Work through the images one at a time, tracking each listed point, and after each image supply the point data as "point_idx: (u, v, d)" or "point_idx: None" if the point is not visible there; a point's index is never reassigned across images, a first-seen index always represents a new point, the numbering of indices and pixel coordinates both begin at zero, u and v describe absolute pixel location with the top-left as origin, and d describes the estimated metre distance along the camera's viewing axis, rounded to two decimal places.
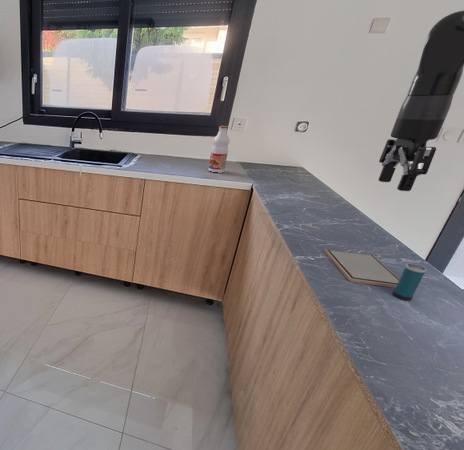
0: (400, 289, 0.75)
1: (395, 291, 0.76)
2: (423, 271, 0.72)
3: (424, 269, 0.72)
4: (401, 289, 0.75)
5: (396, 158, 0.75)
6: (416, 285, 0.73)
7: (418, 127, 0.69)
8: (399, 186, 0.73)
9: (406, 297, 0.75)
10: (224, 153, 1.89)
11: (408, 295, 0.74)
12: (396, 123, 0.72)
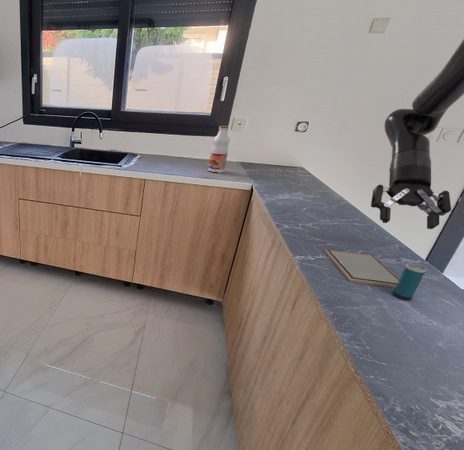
0: (400, 289, 0.75)
1: (395, 291, 0.76)
2: (423, 271, 0.72)
3: (424, 269, 0.72)
4: (401, 289, 0.75)
5: None
6: (416, 285, 0.73)
7: None
8: None
9: (406, 297, 0.75)
10: (224, 153, 1.89)
11: (408, 295, 0.74)
12: None
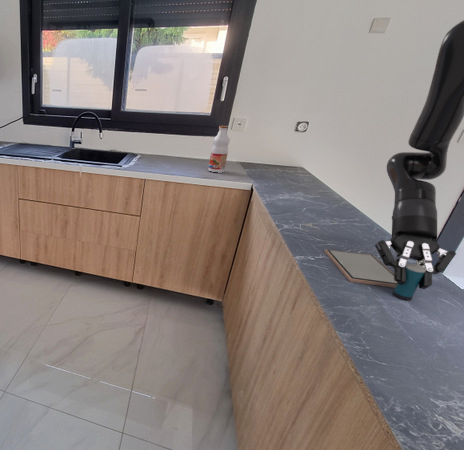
0: (400, 289, 0.75)
1: (395, 291, 0.77)
2: (423, 271, 0.72)
3: (424, 269, 0.72)
4: (401, 289, 0.75)
5: None
6: (416, 285, 0.73)
7: (392, 227, 0.80)
8: None
9: (406, 297, 0.75)
10: (224, 153, 1.89)
11: (408, 295, 0.74)
12: None
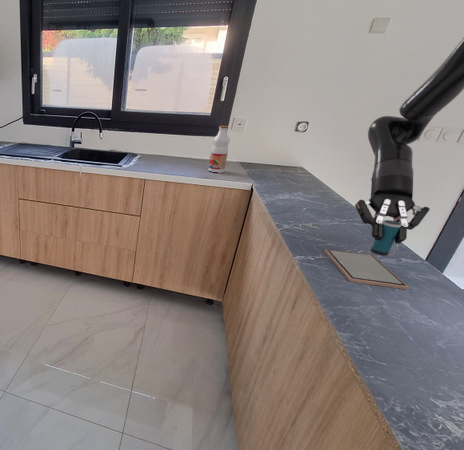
0: (378, 244, 0.79)
1: (373, 247, 0.80)
2: (398, 226, 0.75)
3: (399, 224, 0.76)
4: (378, 244, 0.79)
5: None
6: (392, 240, 0.77)
7: (371, 188, 0.84)
8: None
9: (382, 252, 0.78)
10: (224, 153, 1.89)
11: (384, 250, 0.78)
12: None
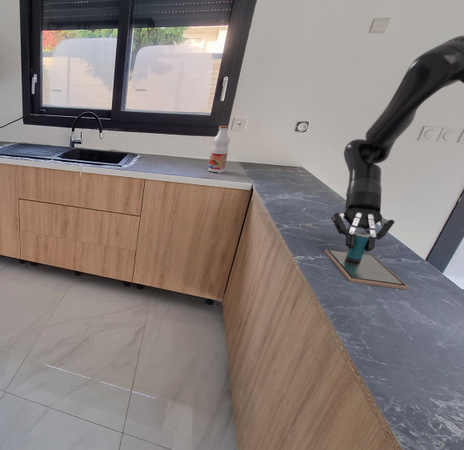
0: (351, 252, 0.90)
1: (347, 255, 0.91)
2: (368, 236, 0.87)
3: (368, 234, 0.87)
4: (351, 252, 0.90)
5: None
6: (363, 248, 0.88)
7: (346, 202, 0.95)
8: None
9: (356, 259, 0.89)
10: (224, 153, 1.89)
11: (357, 257, 0.89)
12: None
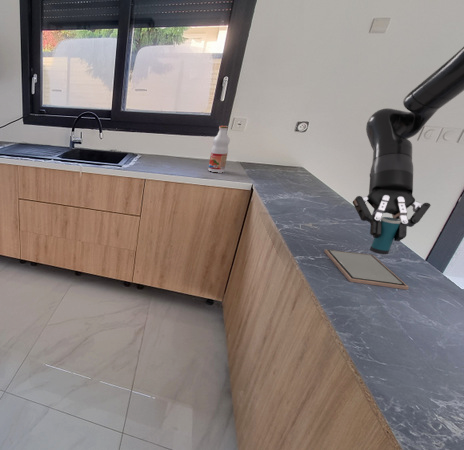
0: (377, 242, 0.75)
1: (372, 246, 0.76)
2: (398, 222, 0.72)
3: (399, 220, 0.72)
4: (377, 242, 0.75)
5: None
6: (392, 237, 0.73)
7: None
8: None
9: (382, 251, 0.75)
10: (224, 153, 1.89)
11: (384, 248, 0.74)
12: None
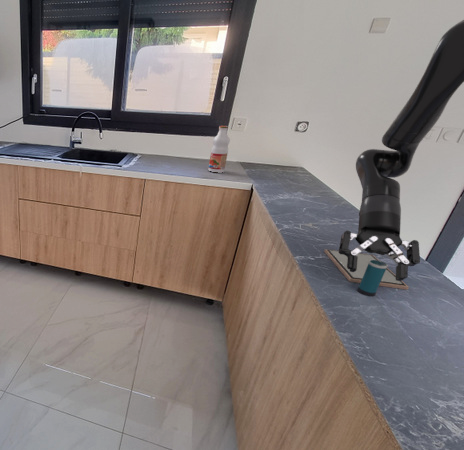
0: (364, 285, 0.77)
1: (359, 287, 0.78)
2: (384, 267, 0.74)
3: (386, 265, 0.74)
4: (365, 285, 0.77)
5: None
6: (378, 281, 0.75)
7: None
8: None
9: (369, 293, 0.77)
10: (224, 153, 1.89)
11: (371, 291, 0.76)
12: None
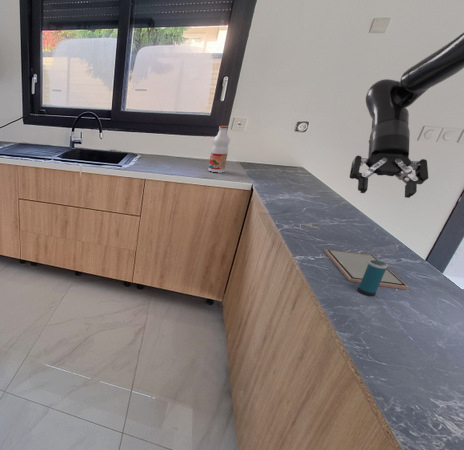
0: (364, 285, 0.77)
1: (359, 287, 0.78)
2: (384, 267, 0.74)
3: (386, 265, 0.74)
4: (365, 285, 0.77)
5: None
6: (378, 281, 0.75)
7: None
8: None
9: (369, 293, 0.77)
10: (224, 153, 1.89)
11: (371, 291, 0.76)
12: None
